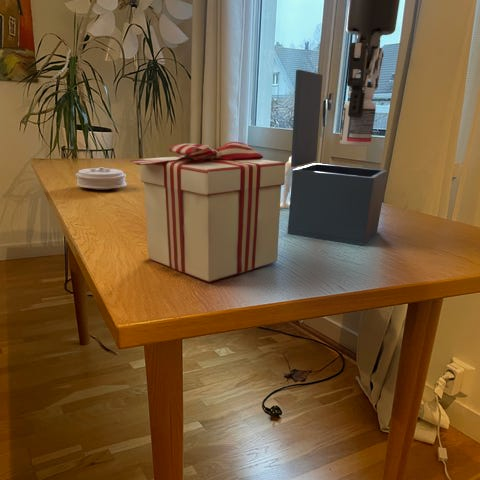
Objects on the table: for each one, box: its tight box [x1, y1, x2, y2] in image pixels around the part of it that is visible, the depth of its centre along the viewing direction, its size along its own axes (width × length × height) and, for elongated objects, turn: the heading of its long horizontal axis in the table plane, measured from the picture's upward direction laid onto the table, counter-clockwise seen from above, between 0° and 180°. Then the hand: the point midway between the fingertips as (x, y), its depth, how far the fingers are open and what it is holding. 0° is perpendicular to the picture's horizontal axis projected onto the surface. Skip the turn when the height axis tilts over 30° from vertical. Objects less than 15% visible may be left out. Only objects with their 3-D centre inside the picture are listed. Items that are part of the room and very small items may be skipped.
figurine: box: [280, 154, 302, 209], centre depth 111 cm, size 7×4×12 cm, turn 141°
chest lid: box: [290, 69, 324, 167], centre depth 88 cm, size 16×13×1 cm
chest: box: [286, 162, 388, 247], centre depth 91 cm, size 15×13×12 cm
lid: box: [75, 166, 127, 191], centre depth 124 cm, size 13×13×5 cm
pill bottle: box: [339, 88, 377, 147], centre depth 80 cm, size 5×5×9 cm
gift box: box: [129, 141, 286, 283], centre depth 70 cm, size 17×18×17 cm
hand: (358, 116), depth 80 cm, fingers closed on pill bottle, 5 cm apart
